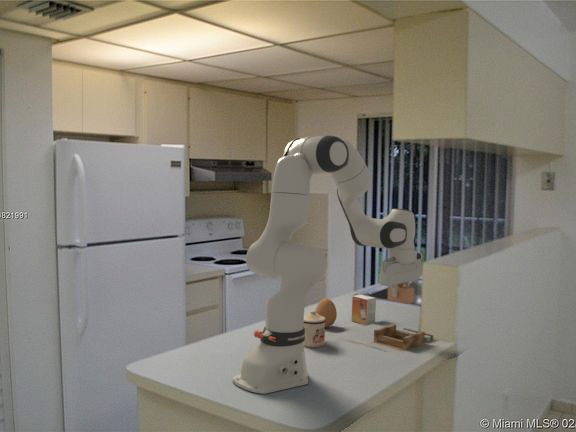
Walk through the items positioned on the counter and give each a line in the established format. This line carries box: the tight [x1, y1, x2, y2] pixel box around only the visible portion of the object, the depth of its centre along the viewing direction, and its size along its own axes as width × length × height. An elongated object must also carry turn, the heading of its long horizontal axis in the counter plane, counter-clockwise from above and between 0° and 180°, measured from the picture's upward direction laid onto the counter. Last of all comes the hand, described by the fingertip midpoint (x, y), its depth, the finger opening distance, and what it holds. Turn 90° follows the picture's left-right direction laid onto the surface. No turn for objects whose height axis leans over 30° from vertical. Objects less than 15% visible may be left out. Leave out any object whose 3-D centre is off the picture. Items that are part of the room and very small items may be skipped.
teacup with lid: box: [303, 310, 326, 348], centre depth 191 cm, size 12×9×12 cm
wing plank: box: [399, 328, 432, 343], centre depth 196 cm, size 2×12×2 cm, turn 44°
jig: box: [372, 323, 436, 352], centre depth 192 cm, size 20×13×5 cm, turn 134°
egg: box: [315, 298, 338, 329], centre depth 212 cm, size 8×8×11 cm
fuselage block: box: [387, 283, 415, 305], centre depth 189 cm, size 4×8×6 cm, turn 44°
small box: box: [351, 294, 377, 326], centre depth 220 cm, size 8×6×10 cm
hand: (400, 295), depth 189 cm, fingers closed on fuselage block, 4 cm apart
